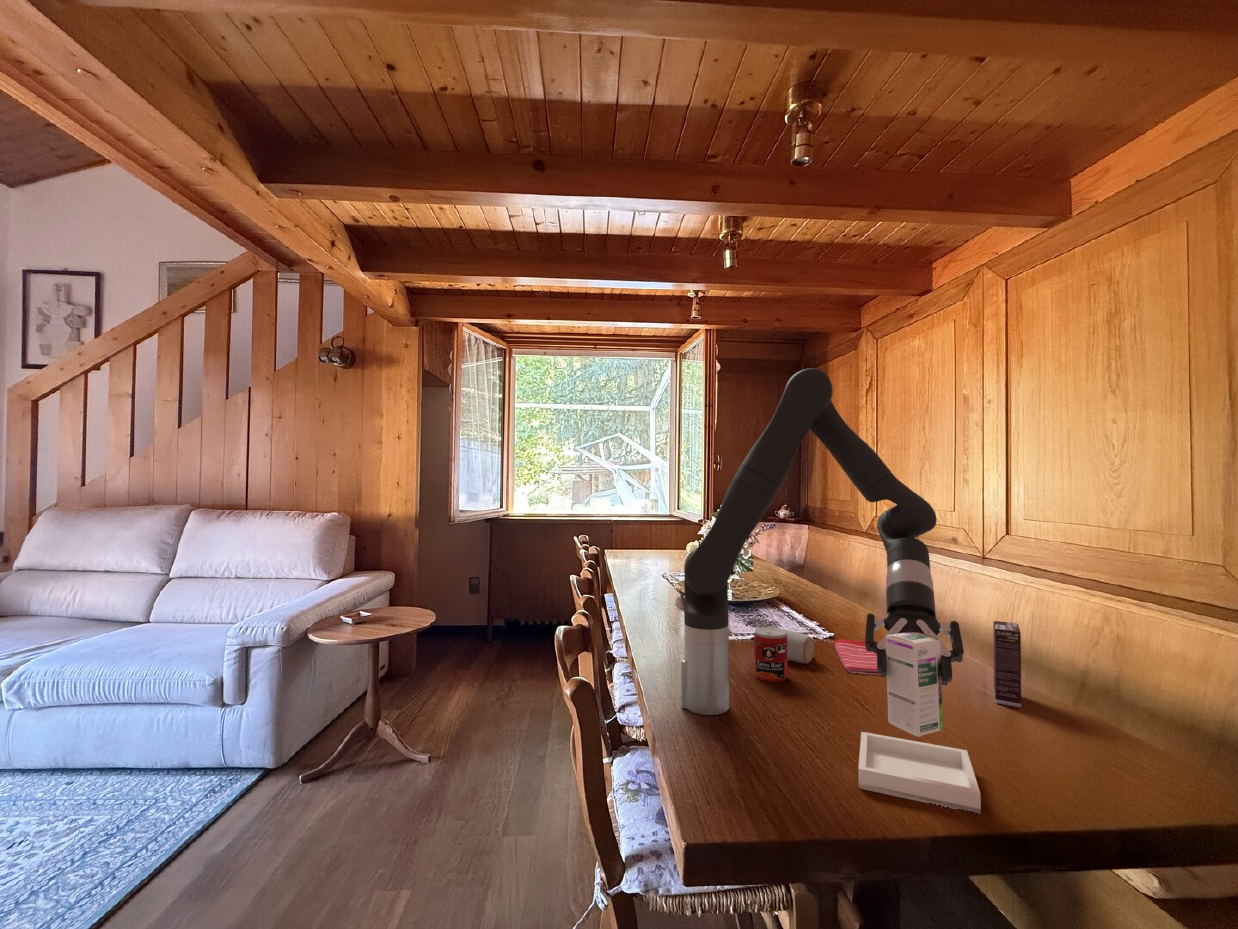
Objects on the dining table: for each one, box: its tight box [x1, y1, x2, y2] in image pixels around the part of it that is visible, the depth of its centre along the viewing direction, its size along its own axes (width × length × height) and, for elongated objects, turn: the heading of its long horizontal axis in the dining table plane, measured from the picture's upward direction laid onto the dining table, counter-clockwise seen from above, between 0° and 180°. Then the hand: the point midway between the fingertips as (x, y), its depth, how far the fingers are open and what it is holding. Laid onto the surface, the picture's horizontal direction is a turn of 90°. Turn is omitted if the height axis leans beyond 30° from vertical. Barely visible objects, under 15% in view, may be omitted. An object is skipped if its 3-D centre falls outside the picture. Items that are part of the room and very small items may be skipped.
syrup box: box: [886, 632, 944, 738], centre depth 90 cm, size 6×6×14 cm
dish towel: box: [833, 639, 887, 676], centre depth 148 cm, size 17×24×3 cm
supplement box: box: [993, 620, 1022, 709], centre depth 122 cm, size 9×5×16 cm, turn 148°
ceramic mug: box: [783, 628, 815, 665], centre depth 149 cm, size 11×8×8 cm
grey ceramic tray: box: [857, 731, 982, 815], centre depth 90 cm, size 16×14×3 cm
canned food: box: [753, 626, 788, 683], centre depth 135 cm, size 8×8×11 cm
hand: (914, 678), depth 88 cm, fingers closed on syrup box, 8 cm apart
